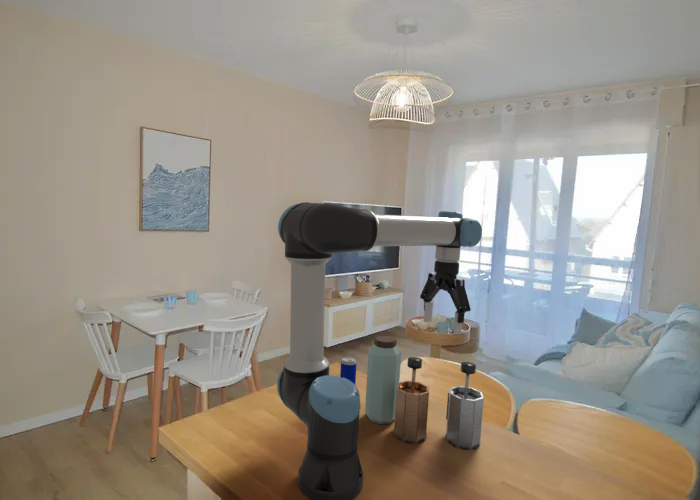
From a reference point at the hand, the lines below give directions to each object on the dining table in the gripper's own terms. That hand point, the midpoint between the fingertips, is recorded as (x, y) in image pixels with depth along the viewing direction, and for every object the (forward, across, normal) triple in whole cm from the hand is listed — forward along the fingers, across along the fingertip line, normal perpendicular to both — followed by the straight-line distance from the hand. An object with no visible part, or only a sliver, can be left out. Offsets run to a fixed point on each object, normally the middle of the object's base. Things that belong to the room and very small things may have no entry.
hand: (441, 327), depth 131 cm
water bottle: (+28, +5, +18) cm, 34 cm away
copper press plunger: (+17, -7, +16) cm, 24 cm away
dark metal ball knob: (+17, -16, +5) cm, 24 cm away
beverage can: (+29, +17, +23) cm, 41 cm away
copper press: (+28, -7, +16) cm, 33 cm away
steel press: (+28, -16, +4) cm, 33 cm away
